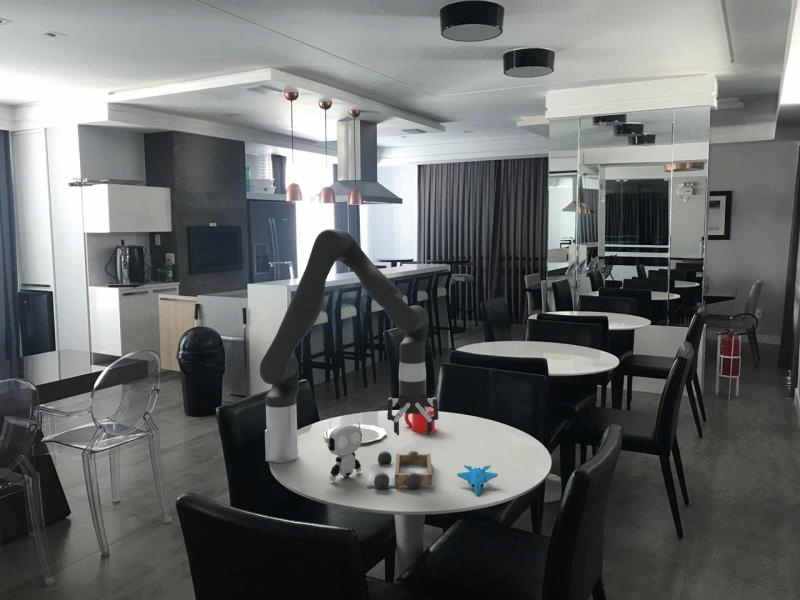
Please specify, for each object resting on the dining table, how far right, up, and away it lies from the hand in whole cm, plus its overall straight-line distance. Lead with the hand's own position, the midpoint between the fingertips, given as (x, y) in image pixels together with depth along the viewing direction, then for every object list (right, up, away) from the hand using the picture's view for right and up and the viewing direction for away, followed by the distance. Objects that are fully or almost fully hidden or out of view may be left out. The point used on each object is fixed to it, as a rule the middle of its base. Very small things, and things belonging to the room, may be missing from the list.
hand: (413, 434), depth 185 cm
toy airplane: (+13, -13, -6) cm, 19 cm away
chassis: (-3, -12, +1) cm, 13 cm away
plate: (-19, -9, +39) cm, 44 cm away
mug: (+3, -8, +45) cm, 46 cm away
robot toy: (-19, -13, +1) cm, 22 cm away
